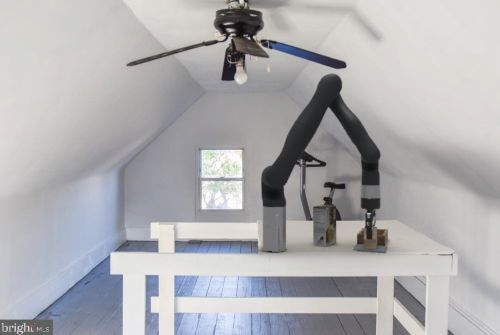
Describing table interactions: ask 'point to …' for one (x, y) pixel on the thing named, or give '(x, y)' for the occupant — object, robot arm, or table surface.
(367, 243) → the oak block
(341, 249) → the table surface
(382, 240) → the walnut surround
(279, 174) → the robot arm
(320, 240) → the coffee box
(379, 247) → the slate mat
